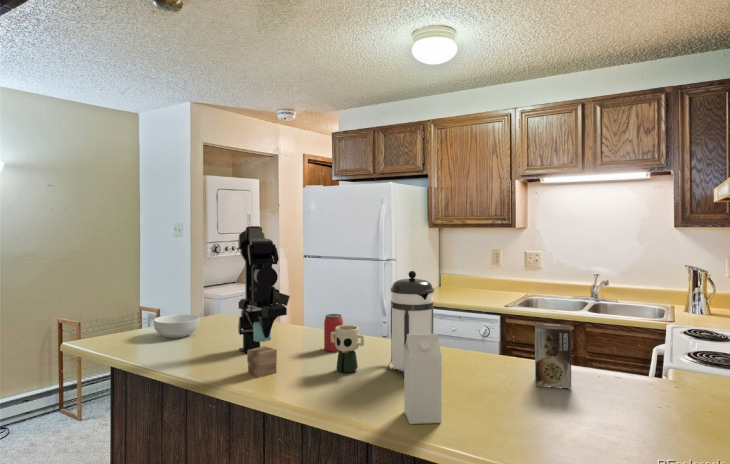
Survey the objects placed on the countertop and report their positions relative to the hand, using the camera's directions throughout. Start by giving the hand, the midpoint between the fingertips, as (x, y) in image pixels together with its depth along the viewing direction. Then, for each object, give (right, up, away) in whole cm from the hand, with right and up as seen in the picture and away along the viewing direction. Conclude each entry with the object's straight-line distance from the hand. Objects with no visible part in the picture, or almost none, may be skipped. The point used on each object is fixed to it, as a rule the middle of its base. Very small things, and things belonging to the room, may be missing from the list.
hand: (262, 336), depth 136 cm
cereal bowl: (-43, -10, +45) cm, 63 cm away
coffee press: (+43, -11, +2) cm, 45 cm away
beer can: (+19, -11, +25) cm, 33 cm away
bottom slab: (0, -11, 0) cm, 11 cm away
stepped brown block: (0, -8, 0) cm, 8 cm away
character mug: (+25, -11, +2) cm, 27 cm away
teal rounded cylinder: (0, -1, 0) cm, 1 cm away
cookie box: (+82, -11, -10) cm, 83 cm away
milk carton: (+43, -12, -31) cm, 55 cm away
